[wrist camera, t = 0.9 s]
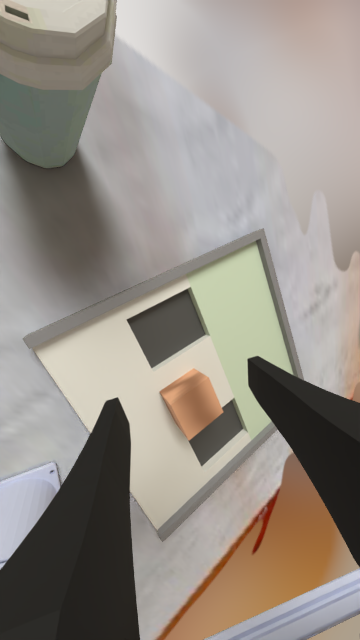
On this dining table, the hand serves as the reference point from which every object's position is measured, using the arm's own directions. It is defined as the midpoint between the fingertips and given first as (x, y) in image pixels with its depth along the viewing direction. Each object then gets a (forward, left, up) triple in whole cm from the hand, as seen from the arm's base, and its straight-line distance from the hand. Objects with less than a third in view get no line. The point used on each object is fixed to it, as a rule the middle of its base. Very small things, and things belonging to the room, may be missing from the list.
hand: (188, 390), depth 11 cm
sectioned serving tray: (-8, -12, -18) cm, 23 cm away
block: (-10, -8, -17) cm, 21 cm away
